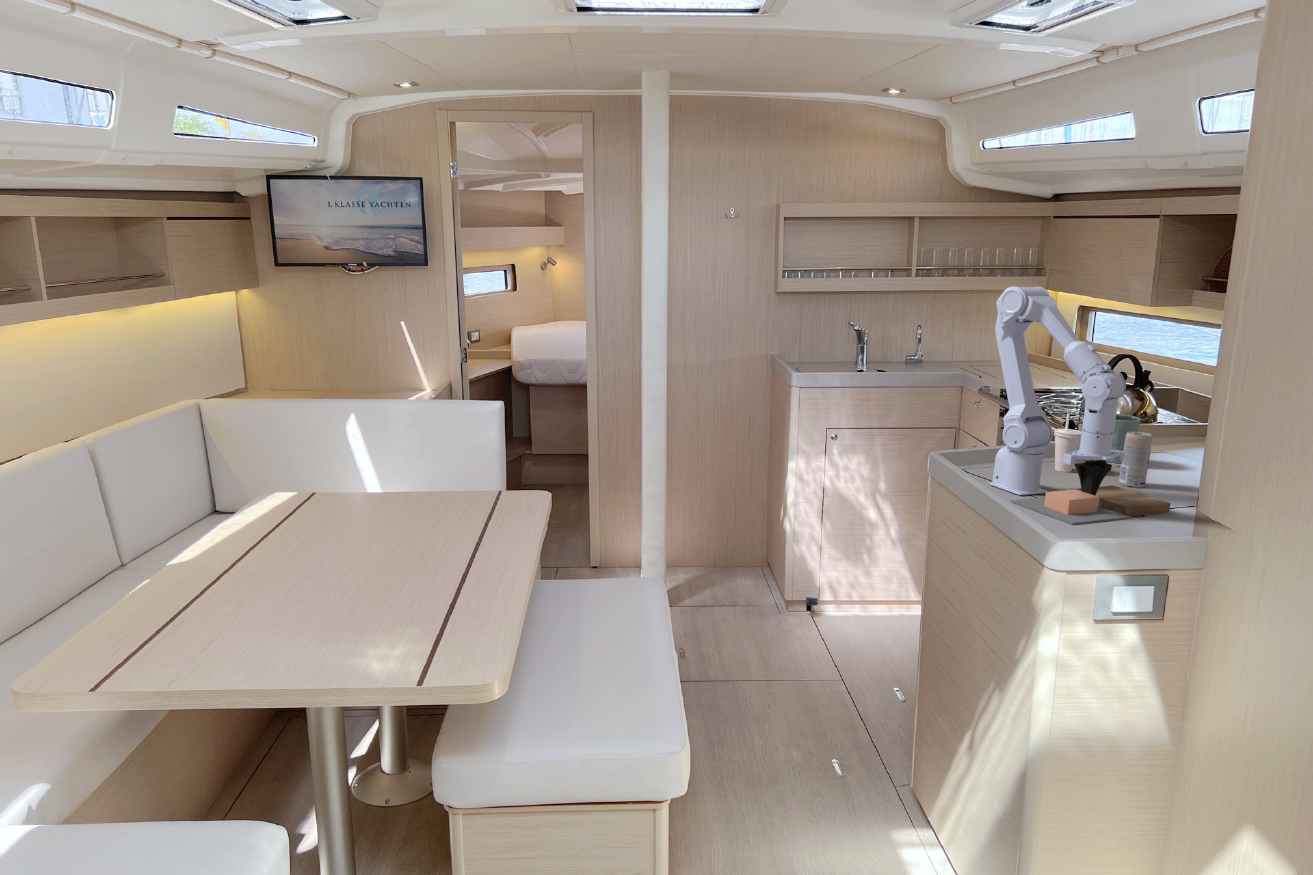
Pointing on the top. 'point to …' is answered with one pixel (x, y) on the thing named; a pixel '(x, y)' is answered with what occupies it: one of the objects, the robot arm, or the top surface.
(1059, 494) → the block
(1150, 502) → the brown wooden board
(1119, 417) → the green plant pot
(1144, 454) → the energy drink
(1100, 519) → the mat
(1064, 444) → the smoothie
